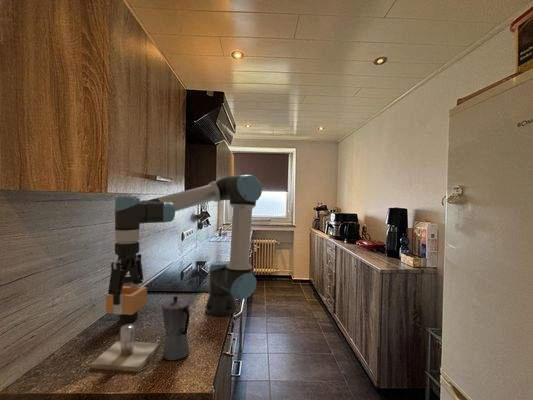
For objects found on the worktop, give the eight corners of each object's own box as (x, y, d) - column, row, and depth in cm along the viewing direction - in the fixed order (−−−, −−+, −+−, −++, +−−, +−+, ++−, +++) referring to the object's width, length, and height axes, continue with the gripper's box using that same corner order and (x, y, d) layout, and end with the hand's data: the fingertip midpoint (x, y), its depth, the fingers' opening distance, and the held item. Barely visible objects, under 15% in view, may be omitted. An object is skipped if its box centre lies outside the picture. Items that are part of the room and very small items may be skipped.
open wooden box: (122, 302, 101) (122, 286, 100) (146, 304, 100) (146, 287, 100) (106, 313, 92) (106, 295, 92) (132, 314, 91) (132, 296, 91)
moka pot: (176, 341, 107) (177, 289, 106) (202, 356, 97) (202, 299, 97) (153, 352, 99) (153, 296, 99) (178, 369, 90) (178, 307, 89)
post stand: (117, 344, 104) (117, 316, 104) (159, 347, 102) (159, 319, 102) (90, 368, 90) (90, 335, 90) (138, 371, 88) (138, 338, 88)
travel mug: (130, 324, 120) (130, 277, 120) (114, 322, 122) (114, 276, 121) (141, 316, 127) (142, 272, 127) (127, 315, 129) (127, 271, 129)
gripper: (134, 236, 106) (134, 295, 107) (94, 247, 85) (94, 321, 85) (153, 237, 106) (153, 296, 106) (117, 248, 84) (117, 322, 85)
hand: (127, 307), depth 96 cm, fingers closed on open wooden box, 9 cm apart
